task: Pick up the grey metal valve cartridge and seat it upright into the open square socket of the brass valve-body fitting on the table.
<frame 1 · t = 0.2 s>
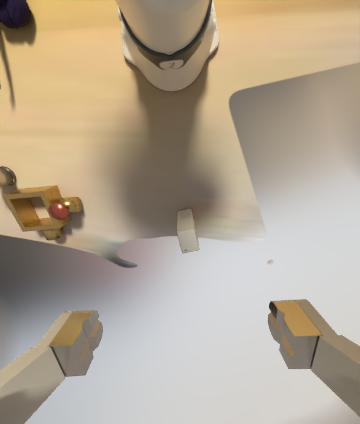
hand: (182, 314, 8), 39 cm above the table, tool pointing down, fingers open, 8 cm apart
skincare box: (186, 217, 50), on the table
cartridge: (6, 175, 45), on the table
fitting: (46, 205, 48), on the table
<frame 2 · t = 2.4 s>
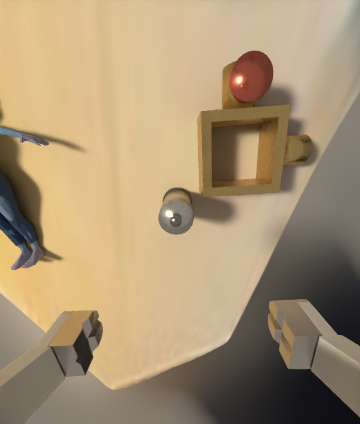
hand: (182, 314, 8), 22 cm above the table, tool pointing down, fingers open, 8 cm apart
figurine: (1, 177, 28), on the table
cartridge: (177, 201, 29), on the table
fitting: (232, 154, 26), on the table
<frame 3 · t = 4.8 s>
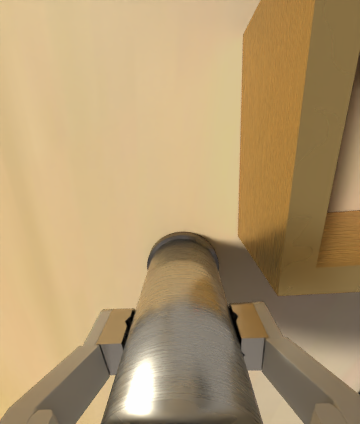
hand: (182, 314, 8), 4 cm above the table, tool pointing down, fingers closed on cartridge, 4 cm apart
cartridge: (182, 262, 12), on the table, touching gripper
fitting: (336, 144, 9), on the table
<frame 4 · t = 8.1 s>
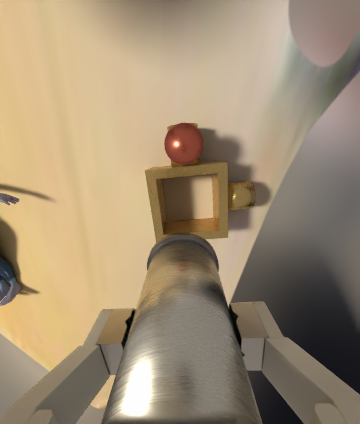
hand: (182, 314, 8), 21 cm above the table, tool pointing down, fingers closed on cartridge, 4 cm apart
cartridge: (182, 263, 12), point 17 cm above the table, touching gripper
fitting: (188, 197, 28), on the table
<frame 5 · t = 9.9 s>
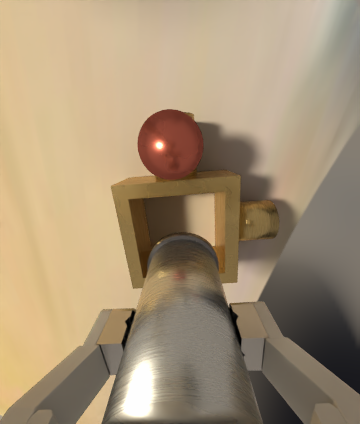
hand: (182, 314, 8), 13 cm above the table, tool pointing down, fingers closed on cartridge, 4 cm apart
cartridge: (183, 263, 12), point 8 cm above the table, touching gripper
fitting: (180, 218, 20), on the table
when the fingers open (6 cm above the table, at t = 11.6 s): cartridge drops 1 cm, resting in fitting.
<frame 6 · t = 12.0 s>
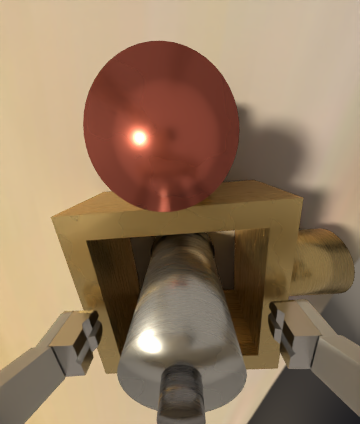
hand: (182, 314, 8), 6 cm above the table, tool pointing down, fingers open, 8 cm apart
cartridge: (182, 251, 13), resting in fitting
fitting: (183, 251, 13), on the table
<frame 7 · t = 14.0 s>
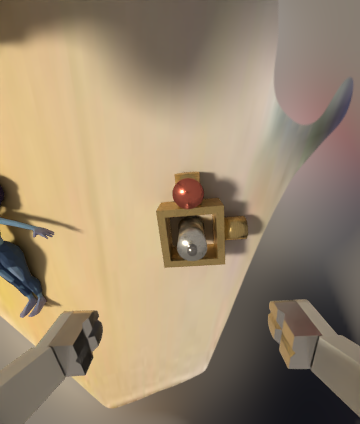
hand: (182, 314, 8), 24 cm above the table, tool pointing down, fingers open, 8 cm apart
figurine: (17, 245, 36), on the table
cartridge: (191, 226, 32), resting in fitting
fitting: (191, 226, 32), on the table
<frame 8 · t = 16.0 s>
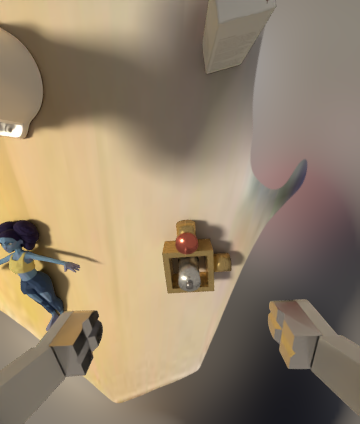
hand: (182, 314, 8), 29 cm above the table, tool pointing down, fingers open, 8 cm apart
figurine: (44, 272, 44), on the table
skincare box: (220, 55, 28), on the table
cartridge: (188, 259, 41), resting in fitting
fitting: (188, 259, 41), on the table
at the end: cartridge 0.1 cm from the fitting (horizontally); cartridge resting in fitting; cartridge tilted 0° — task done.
